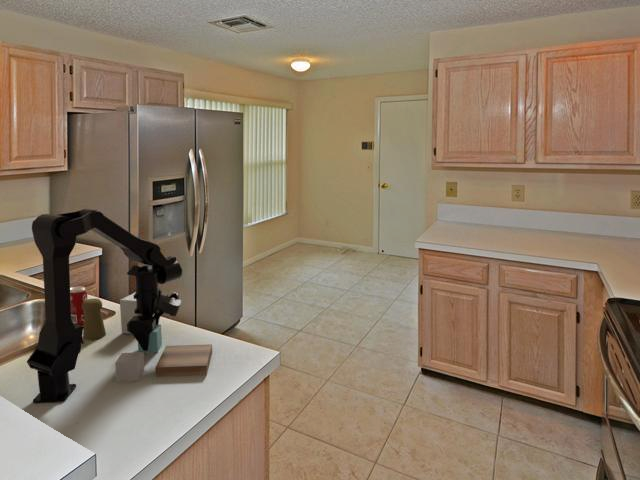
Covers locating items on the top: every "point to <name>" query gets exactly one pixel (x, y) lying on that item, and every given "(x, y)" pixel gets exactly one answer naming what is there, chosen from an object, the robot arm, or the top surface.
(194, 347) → the walnut block
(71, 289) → the soda can
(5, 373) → the top surface
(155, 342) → the teal block
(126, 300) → the small box
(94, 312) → the cork
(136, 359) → the grey block
